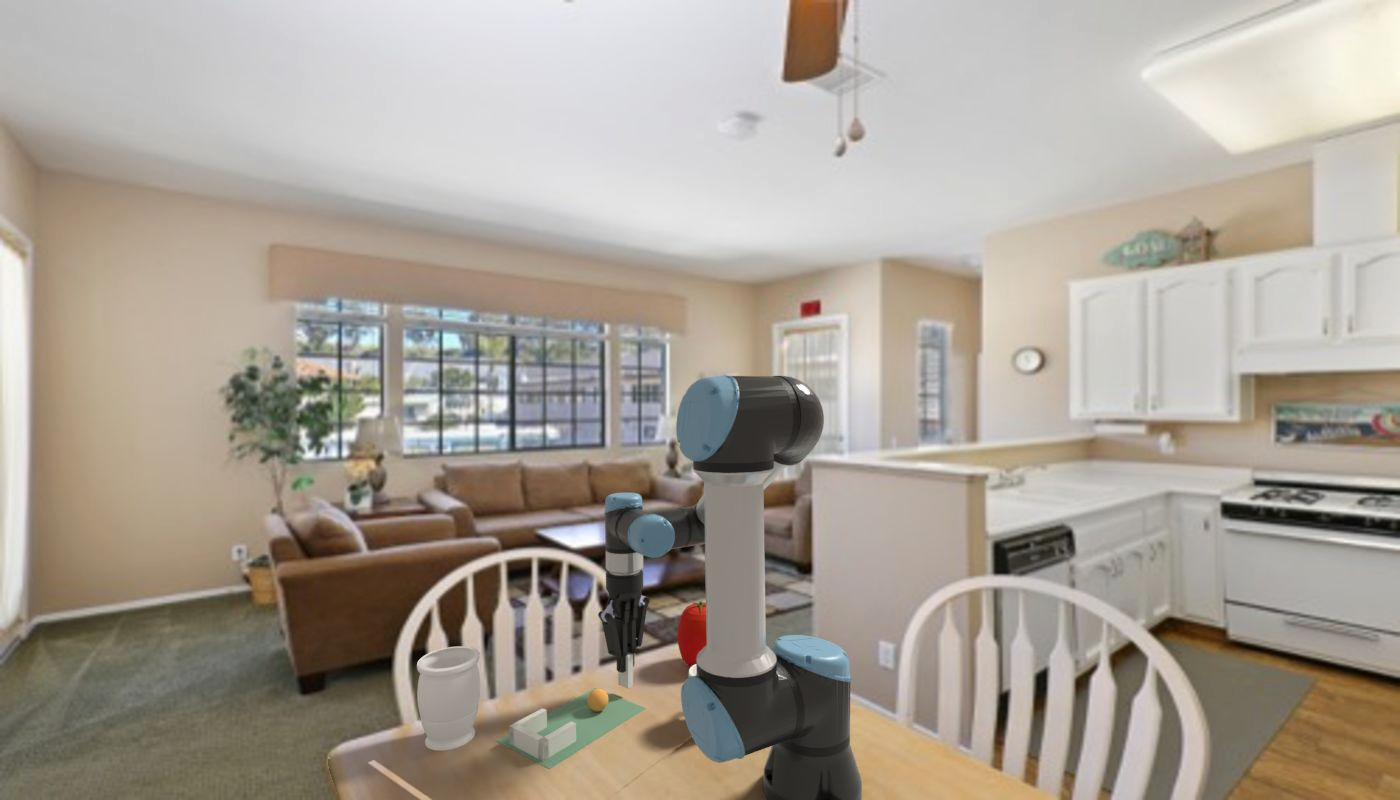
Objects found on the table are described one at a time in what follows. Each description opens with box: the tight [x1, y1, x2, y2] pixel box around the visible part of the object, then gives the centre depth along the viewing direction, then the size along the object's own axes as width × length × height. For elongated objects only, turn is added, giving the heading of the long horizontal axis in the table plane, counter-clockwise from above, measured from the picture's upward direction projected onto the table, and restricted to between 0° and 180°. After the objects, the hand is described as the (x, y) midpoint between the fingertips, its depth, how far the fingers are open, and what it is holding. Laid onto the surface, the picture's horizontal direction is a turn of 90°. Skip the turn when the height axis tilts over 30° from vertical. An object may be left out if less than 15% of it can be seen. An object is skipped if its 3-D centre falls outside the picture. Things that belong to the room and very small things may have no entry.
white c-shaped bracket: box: [508, 707, 576, 761], centre depth 113 cm, size 9×7×3 cm
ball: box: [588, 688, 608, 712], centre depth 124 cm, size 4×4×4 cm
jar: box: [416, 645, 481, 751], centre depth 115 cm, size 11×10×15 cm
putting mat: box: [496, 687, 647, 770], centre depth 119 cm, size 14×24×1 cm, turn 144°
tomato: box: [676, 601, 707, 668], centre depth 145 cm, size 13×11×14 cm
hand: (625, 685), depth 130 cm, fingers closed
